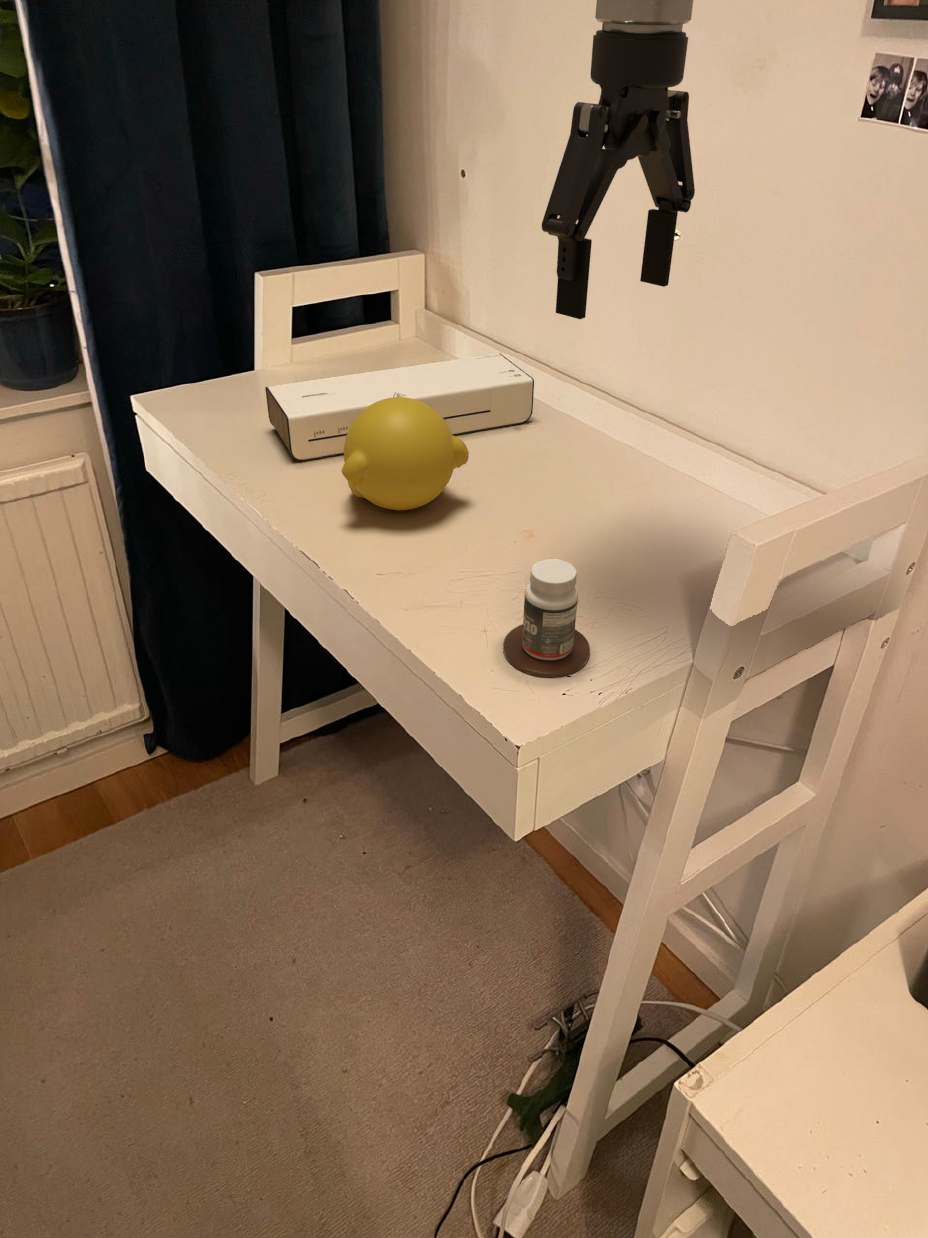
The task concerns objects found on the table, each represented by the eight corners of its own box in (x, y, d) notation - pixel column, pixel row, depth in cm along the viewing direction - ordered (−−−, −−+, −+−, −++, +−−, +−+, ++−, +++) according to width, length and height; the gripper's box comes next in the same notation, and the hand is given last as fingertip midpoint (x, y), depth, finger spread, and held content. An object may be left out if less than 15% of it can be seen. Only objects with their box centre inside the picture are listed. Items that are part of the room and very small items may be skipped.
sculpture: (431, 447, 117) (448, 365, 106) (469, 523, 111) (491, 444, 100) (315, 467, 112) (321, 382, 101) (349, 548, 106) (359, 467, 95)
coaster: (606, 648, 87) (606, 644, 87) (554, 689, 82) (554, 684, 82) (538, 615, 91) (539, 611, 91) (485, 651, 86) (485, 647, 86)
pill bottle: (516, 633, 88) (520, 557, 83) (565, 629, 89) (572, 553, 84) (527, 664, 84) (532, 587, 79) (578, 659, 85) (586, 582, 80)
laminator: (291, 463, 118) (286, 417, 114) (268, 426, 127) (262, 382, 123) (532, 422, 129) (534, 378, 125) (494, 390, 138) (496, 349, 135)
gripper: (682, 19, 84) (652, 264, 96) (504, 31, 69) (496, 320, 81) (759, 23, 80) (717, 278, 92) (588, 37, 65) (565, 340, 77)
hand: (614, 298), depth 87 cm, fingers open, 13 cm apart
